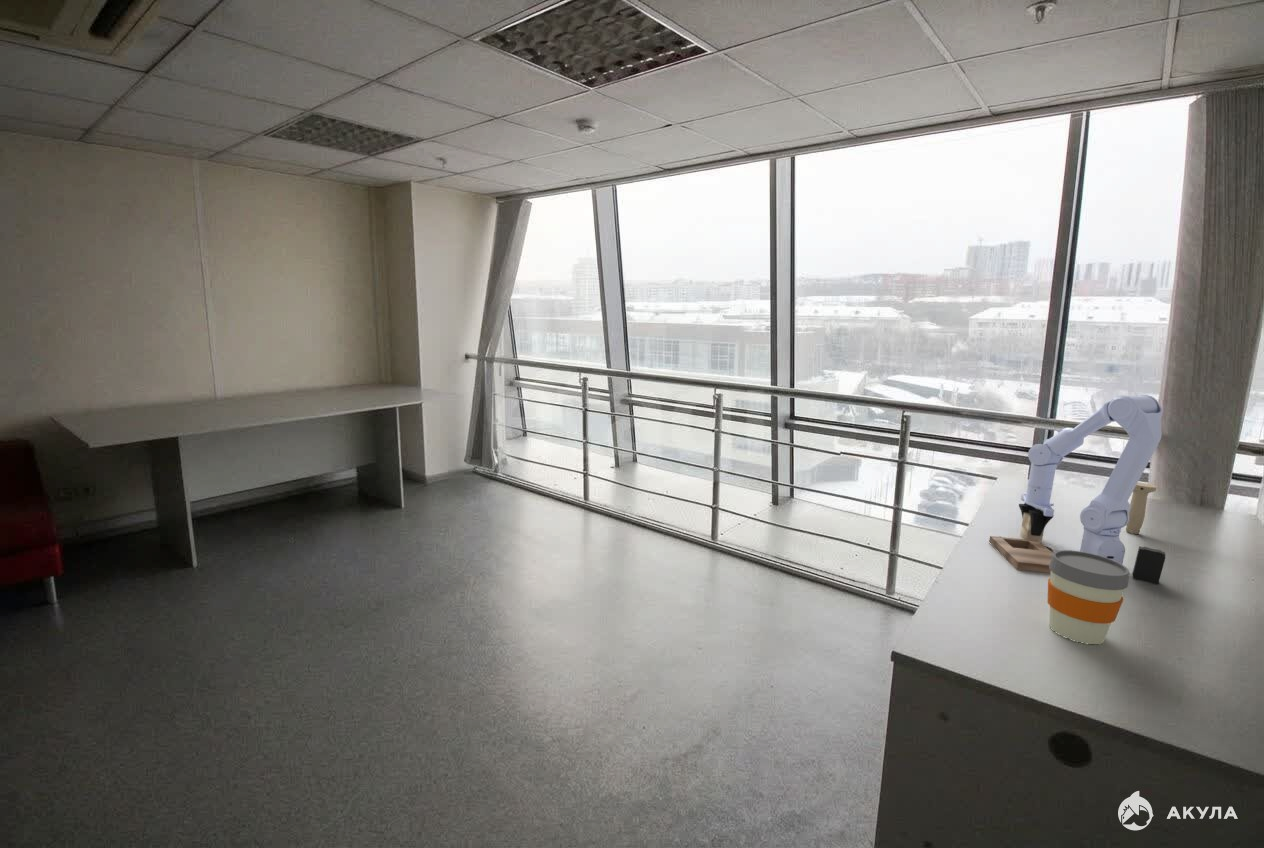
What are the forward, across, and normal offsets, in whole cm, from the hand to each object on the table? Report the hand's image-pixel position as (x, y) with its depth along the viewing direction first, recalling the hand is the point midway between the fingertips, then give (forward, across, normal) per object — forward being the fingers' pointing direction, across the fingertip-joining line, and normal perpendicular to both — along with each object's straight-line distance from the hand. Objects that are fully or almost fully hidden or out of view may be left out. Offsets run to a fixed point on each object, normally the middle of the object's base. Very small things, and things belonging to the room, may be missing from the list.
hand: (1031, 532), depth 173 cm
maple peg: (+2, 0, 0) cm, 2 cm away
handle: (+2, +14, -34) cm, 37 cm away
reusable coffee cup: (+2, -56, +16) cm, 58 cm away
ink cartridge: (+2, -23, -16) cm, 28 cm away
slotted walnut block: (+2, -16, +8) cm, 18 cm away
